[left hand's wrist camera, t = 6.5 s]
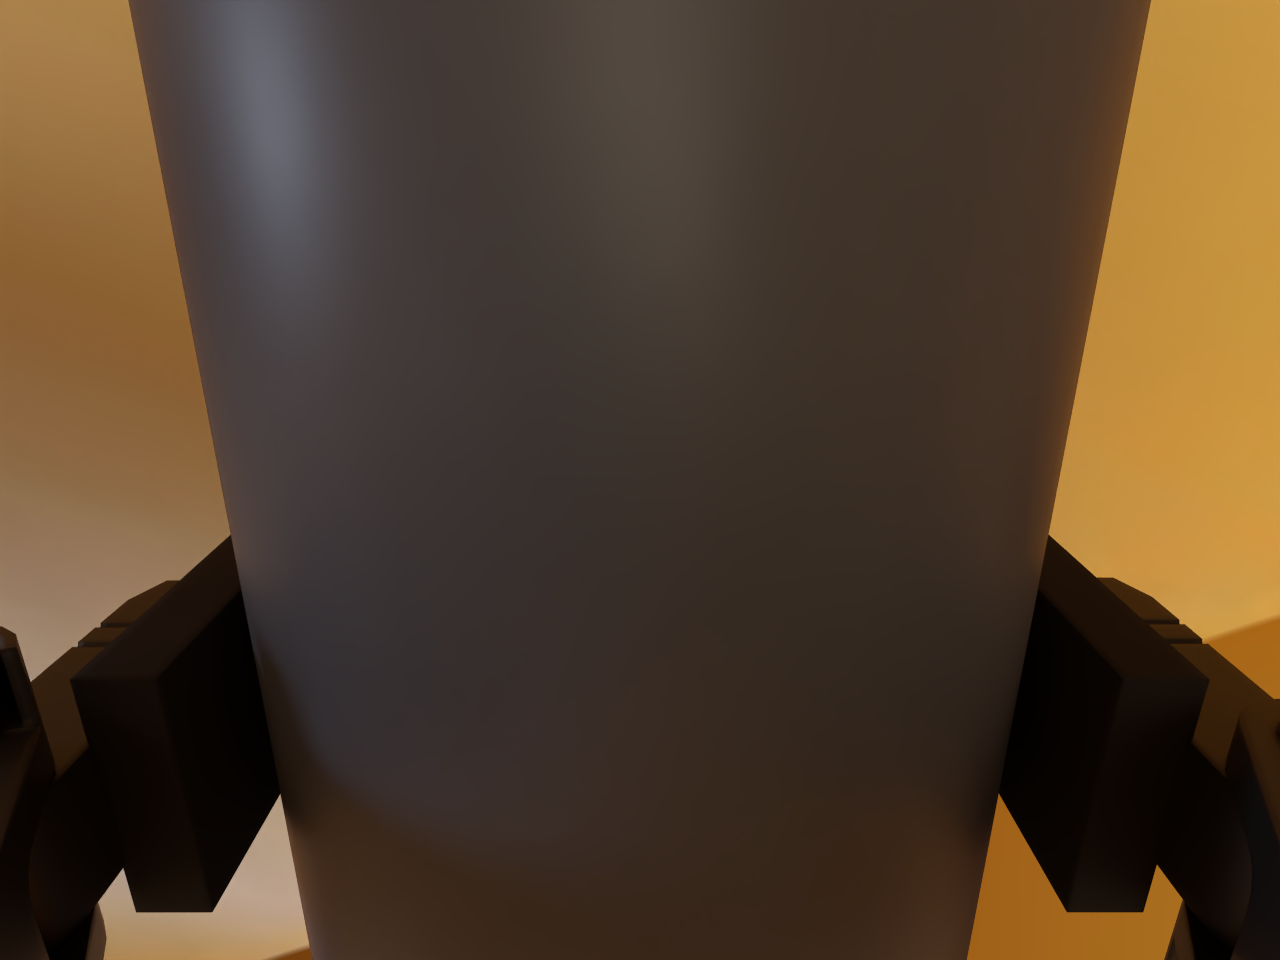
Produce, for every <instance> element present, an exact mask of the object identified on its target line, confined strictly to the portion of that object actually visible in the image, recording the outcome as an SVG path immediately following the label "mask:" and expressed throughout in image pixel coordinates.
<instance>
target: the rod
mask: <svg viewBox="0 0 1280 960" xmlns="http://www.w3.org/2000/svg"><path fill="white" fill-rule="evenodd" d="M1150 2H1151V0H129V6H130V11H131V16H132V21H133V27H134V32H135V37H136V42H137V47H138V53H139V58H140V63H141V68H142V73H143V79H144V84H145V89H146V94H147V100H148V105H149V110H150V115H151V120H152V126H153V131H154V136H155V141H156V147H157V152H158V157H159V162H160V167H161V173H162V178H163V183H164V188H165V193H166V199H167V204H168V209H169V214H170V220H171V225H172V230H173V235H174V240H175V246H176V251H177V256H178V261H179V266H180V272H181V277H182V282H183V287H184V293H185V298H186V303H187V308H188V313H189V319H190V324H191V329H192V334H193V340H194V345H195V350H196V355H197V360H198V366H199V371H200V376H201V381H202V386H203V392H204V397H205V402H206V407H207V413H208V418H209V423H210V428H211V433H212V439H213V444H214V449H215V454H216V460H217V465H218V470H219V475H220V480H221V486H222V491H223V496H224V501H225V506H226V512H227V517H228V522H229V527H230V533H231V538H232V543H233V548H234V553H235V559H236V564H237V569H238V574H239V579H240V585H241V590H242V595H243V600H244V606H245V611H246V616H247V621H248V626H249V632H250V637H251V642H252V647H253V653H254V658H255V663H256V668H257V673H258V679H259V684H260V689H261V694H262V699H263V705H264V710H265V715H266V720H267V726H268V731H269V736H270V741H271V746H272V752H273V757H274V762H275V767H276V773H277V778H278V783H279V788H280V793H281V799H282V804H283V809H284V814H285V819H286V825H287V830H288V835H289V840H290V846H291V851H292V856H293V861H294V866H295V872H296V877H297V882H298V887H299V892H300V898H301V903H302V908H303V913H304V919H305V924H306V929H307V934H308V939H309V945H310V950H311V955H312V960H967V955H968V950H969V945H970V940H971V934H972V929H973V924H974V919H975V914H976V908H977V903H978V898H979V893H980V888H981V882H982V877H983V872H984V867H985V862H986V856H987V851H988V846H989V841H990V836H991V830H992V825H993V820H994V815H995V809H996V804H997V799H998V794H999V789H1000V783H1001V778H1002V773H1003V768H1004V763H1005V757H1006V752H1007V747H1008V742H1009V737H1010V731H1011V726H1012V721H1013V716H1014V711H1015V705H1016V700H1017V695H1018V690H1019V685H1020V679H1021V674H1022V669H1023V664H1024V658H1025V653H1026V648H1027V643H1028V638H1029V632H1030V627H1031V622H1032V617H1033V612H1034V606H1035V601H1036V596H1037V591H1038V586H1039V580H1040V575H1041V570H1042V565H1043V560H1044V554H1045V549H1046V544H1047V539H1048V534H1049V528H1050V523H1051V518H1052V513H1053V507H1054V502H1055V497H1056V492H1057V487H1058V481H1059V476H1060V471H1061V466H1062V461H1063V455H1064V450H1065V445H1066V440H1067V435H1068V429H1069V424H1070V419H1071V414H1072V409H1073V403H1074V398H1075V393H1076V388H1077V383H1078V377H1079V372H1080V367H1081V362H1082V356H1083V351H1084V346H1085V341H1086V336H1087V330H1088V325H1089V320H1090V315H1091V310H1092V304H1093V299H1094V294H1095V289H1096V284H1097V278H1098V273H1099V268H1100V263H1101V258H1102V252H1103V247H1104V242H1105V237H1106V232H1107V226H1108V221H1109V216H1110V211H1111V205H1112V200H1113V195H1114V190H1115V185H1116V179H1117V174H1118V169H1119V164H1120V159H1121V153H1122V148H1123V143H1124V138H1125V133H1126V127H1127V122H1128V117H1129V112H1130V107H1131V101H1132V96H1133V91H1134V86H1135V81H1136V75H1137V70H1138V65H1139V60H1140V54H1141V49H1142V44H1143V39H1144V34H1145V28H1146V23H1147V18H1148V13H1149V8H1150Z"/></svg>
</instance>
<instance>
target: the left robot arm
mask: <svg viewBox="0 0 1280 960" xmlns="http://www.w3.org/2000/svg"><path fill="white" fill-rule="evenodd" d="M999 794H1000V796H1001V798H1002V800H1003V801H1004V803H1005V805H1006V807H1007V808H1008V810H1009V812H1010V814H1011V815H1012V817H1013V819H1014V820H1015V822H1016V824H1017V826H1018V828H1019V829H1020V831H1021V833H1022V835H1023V836H1024V838H1025V840H1026V841H1027V843H1028V845H1029V847H1030V848H1031V850H1032V852H1033V854H1034V855H1035V857H1036V859H1037V861H1038V862H1039V864H1040V866H1041V868H1042V869H1043V871H1044V873H1045V875H1046V876H1047V878H1048V880H1049V882H1050V883H1051V885H1052V887H1053V889H1054V890H1055V892H1056V894H1057V896H1058V897H1059V899H1060V901H1061V902H1062V904H1063V906H1064V908H1065V910H1066V911H1067V912H1143V911H1144V907H1145V904H1146V900H1147V897H1148V893H1149V890H1150V886H1151V883H1152V879H1153V876H1154V872H1155V869H1156V866H1157V865H1158V866H1159V868H1160V869H1161V870H1162V872H1163V873H1164V874H1165V876H1166V877H1167V878H1168V880H1169V881H1170V882H1171V884H1172V885H1173V886H1174V888H1175V889H1176V891H1177V892H1178V893H1179V895H1180V896H1181V897H1182V899H1183V901H1182V904H1181V907H1180V910H1179V914H1178V917H1177V920H1176V923H1175V927H1174V930H1173V933H1172V936H1171V940H1170V943H1169V946H1168V950H1167V953H1166V956H1165V959H1164V960H1280V699H1273V698H1272V697H1271V696H1269V695H1268V694H1267V693H1266V692H1265V691H1263V690H1262V689H1261V688H1260V687H1259V686H1258V685H1256V684H1255V683H1254V682H1253V681H1252V680H1250V679H1249V678H1248V677H1247V676H1246V675H1244V674H1243V673H1242V672H1241V671H1240V670H1238V669H1237V668H1236V667H1235V666H1234V665H1232V664H1231V663H1230V662H1229V661H1228V660H1227V659H1225V658H1224V657H1223V656H1222V655H1221V654H1219V653H1218V652H1217V651H1216V650H1215V649H1213V648H1212V647H1211V646H1210V645H1209V644H1203V643H1202V639H1201V638H1200V637H1199V636H1198V635H1197V634H1196V633H1194V632H1193V631H1192V630H1191V629H1190V628H1188V627H1187V626H1186V625H1185V624H1180V623H1179V619H1178V618H1176V617H1175V616H1174V615H1173V614H1172V613H1170V612H1169V611H1168V610H1167V609H1166V608H1165V607H1163V606H1162V605H1161V604H1160V603H1159V602H1157V601H1156V600H1155V599H1154V598H1153V597H1151V596H1149V595H1147V594H1145V593H1143V592H1141V591H1139V590H1137V589H1135V588H1133V587H1131V586H1129V585H1127V584H1125V583H1123V582H1121V581H1119V580H1117V579H1115V578H1096V577H1095V576H1094V575H1093V574H1092V573H1091V572H1090V571H1088V570H1087V569H1086V568H1085V567H1084V566H1083V565H1082V564H1081V563H1080V562H1078V561H1077V560H1076V559H1075V558H1074V557H1073V556H1072V555H1071V554H1070V553H1068V552H1067V551H1066V550H1065V549H1064V548H1063V547H1062V546H1061V545H1059V544H1058V543H1057V542H1056V541H1055V540H1054V539H1053V538H1052V537H1051V536H1049V535H1048V539H1047V544H1046V549H1045V554H1044V560H1043V565H1042V570H1041V575H1040V580H1039V586H1038V591H1037V596H1036V601H1035V606H1034V612H1033V617H1032V622H1031V627H1030V632H1029V638H1028V643H1027V648H1026V653H1025V658H1024V664H1023V669H1022V674H1021V679H1020V685H1019V690H1018V695H1017V700H1016V705H1015V711H1014V716H1013V721H1012V726H1011V731H1010V737H1009V742H1008V747H1007V752H1006V757H1005V763H1004V768H1003V773H1002V778H1001V783H1000V789H999ZM279 795H280V788H279V783H278V778H277V773H276V767H275V762H274V757H273V752H272V746H271V741H270V736H269V731H268V726H267V720H266V715H265V710H264V705H263V699H262V694H261V689H260V684H259V679H258V673H257V668H256V663H255V658H254V653H253V647H252V642H251V637H250V632H249V626H248V621H247V616H246V611H245V606H244V600H243V595H242V590H241V585H240V579H239V574H238V569H237V564H236V559H235V553H234V548H233V543H232V538H231V535H230V536H229V537H228V538H227V539H225V540H224V541H223V542H222V543H221V544H220V545H219V546H218V547H217V548H215V549H214V550H213V551H212V552H211V553H210V554H209V555H208V556H207V557H205V558H204V559H203V560H202V561H201V562H200V563H199V564H198V565H197V566H195V567H194V568H193V569H192V570H191V571H190V572H189V573H188V574H186V575H185V576H184V577H183V578H182V579H181V580H180V581H165V582H163V583H161V584H159V585H157V586H155V587H153V588H151V589H149V590H147V591H145V592H143V593H141V594H139V595H137V596H135V597H133V598H131V599H129V600H127V601H126V602H125V603H124V604H123V605H122V606H120V607H119V608H118V609H117V610H116V611H114V612H113V613H112V614H111V615H110V616H109V617H107V618H106V619H105V620H104V621H103V622H101V627H100V628H94V629H93V630H92V631H91V632H90V633H88V634H87V635H86V636H85V637H84V638H83V639H81V640H80V641H79V642H78V647H72V648H71V649H70V650H68V651H67V652H66V653H65V654H64V655H62V656H61V657H60V658H59V659H58V660H57V661H55V662H54V663H53V664H52V665H51V666H49V667H48V668H47V669H46V670H45V671H44V672H42V673H41V674H40V675H39V676H38V677H36V678H35V679H34V680H33V681H32V682H30V679H29V676H28V673H27V669H26V666H25V663H24V660H23V656H22V653H21V650H20V647H19V643H18V640H17V637H16V634H14V633H13V632H11V631H9V630H7V629H5V628H4V627H2V626H0V960H103V958H104V951H105V945H106V932H105V926H104V920H103V917H102V914H101V910H100V907H99V904H98V901H99V900H100V898H101V897H102V896H103V894H104V893H105V892H106V890H107V889H108V888H109V886H110V885H111V884H112V882H113V881H114V879H115V878H116V877H117V875H118V874H119V873H120V871H121V870H122V869H123V868H124V871H125V875H126V878H127V882H128V885H129V889H130V892H131V896H132V899H133V903H134V906H135V910H136V912H213V910H214V908H215V907H216V905H217V903H218V902H219V900H220V898H221V896H222V895H223V893H224V891H225V889H226V888H227V886H228V884H229V882H230V881H231V879H232V877H233V875H234V874H235V872H236V870H237V868H238V867H239V865H240V863H241V861H242V860H243V858H244V856H245V854H246V853H247V851H248V849H249V847H250V846H251V844H252V842H253V840H254V839H255V837H256V835H257V833H258V832H259V830H260V828H261V827H262V825H263V823H264V821H265V820H266V818H267V816H268V814H269V813H270V811H271V809H272V807H273V806H274V804H275V802H276V800H277V799H278V797H279Z"/></svg>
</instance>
